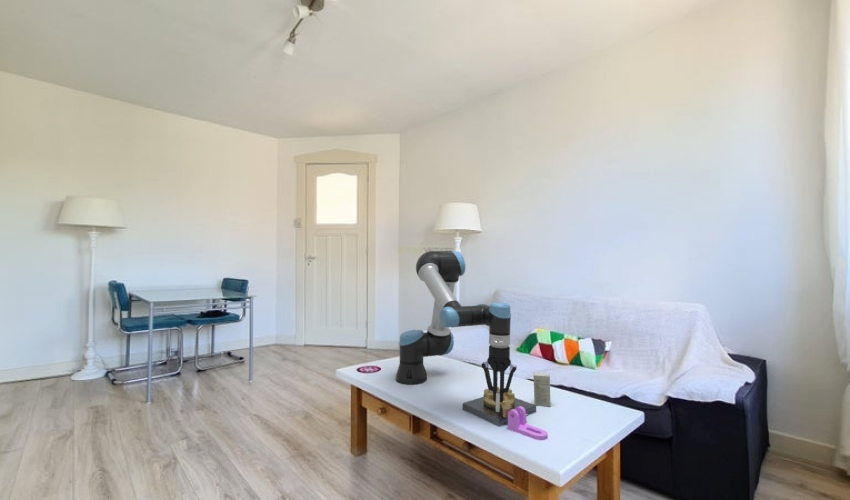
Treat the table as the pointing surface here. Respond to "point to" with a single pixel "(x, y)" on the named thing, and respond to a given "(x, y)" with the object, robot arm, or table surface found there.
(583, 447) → the table surface
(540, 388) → the skincare box
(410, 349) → the robot arm
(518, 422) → the bracket
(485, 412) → the base plate
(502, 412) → the brass notched disc handle
